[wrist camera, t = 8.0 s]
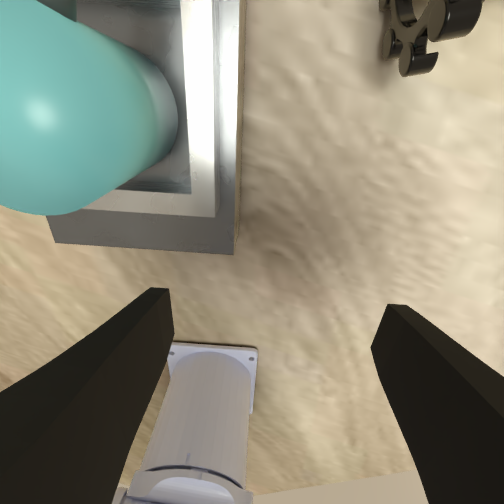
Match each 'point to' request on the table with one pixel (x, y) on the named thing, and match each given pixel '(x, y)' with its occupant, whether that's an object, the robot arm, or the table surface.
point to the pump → (74, 110)
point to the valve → (425, 30)
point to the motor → (188, 133)
